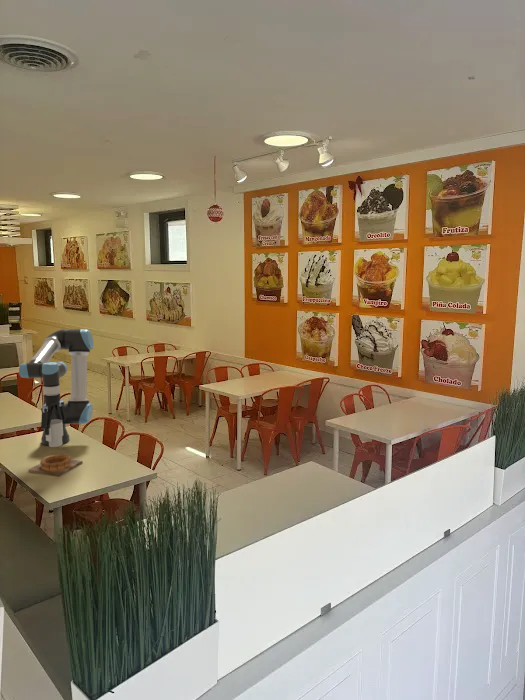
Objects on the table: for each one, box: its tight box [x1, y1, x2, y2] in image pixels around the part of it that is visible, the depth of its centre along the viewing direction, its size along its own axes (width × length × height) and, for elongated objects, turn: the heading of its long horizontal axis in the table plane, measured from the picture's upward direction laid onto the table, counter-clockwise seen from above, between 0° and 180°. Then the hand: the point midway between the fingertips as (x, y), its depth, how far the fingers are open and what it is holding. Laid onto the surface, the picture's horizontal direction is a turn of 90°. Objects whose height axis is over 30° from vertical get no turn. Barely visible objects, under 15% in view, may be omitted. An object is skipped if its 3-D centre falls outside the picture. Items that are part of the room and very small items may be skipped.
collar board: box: [28, 453, 83, 477], centre depth 266 cm, size 18×18×4 cm
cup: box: [49, 419, 64, 448], centre depth 264 cm, size 8×8×12 cm
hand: (54, 437), depth 264 cm, fingers closed on cup, 8 cm apart
